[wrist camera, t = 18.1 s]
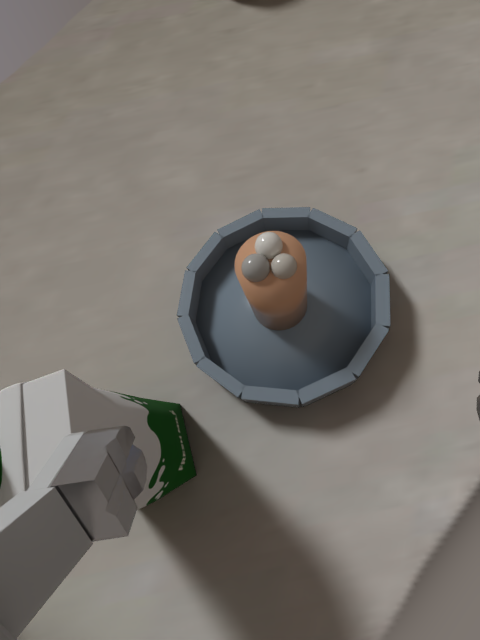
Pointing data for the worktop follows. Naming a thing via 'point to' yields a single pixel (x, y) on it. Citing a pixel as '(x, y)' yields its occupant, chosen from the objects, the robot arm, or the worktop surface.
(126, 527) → the robot arm
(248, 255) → the pebble cup
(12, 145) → the worktop surface
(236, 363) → the slate bowl
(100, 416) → the milk carton
